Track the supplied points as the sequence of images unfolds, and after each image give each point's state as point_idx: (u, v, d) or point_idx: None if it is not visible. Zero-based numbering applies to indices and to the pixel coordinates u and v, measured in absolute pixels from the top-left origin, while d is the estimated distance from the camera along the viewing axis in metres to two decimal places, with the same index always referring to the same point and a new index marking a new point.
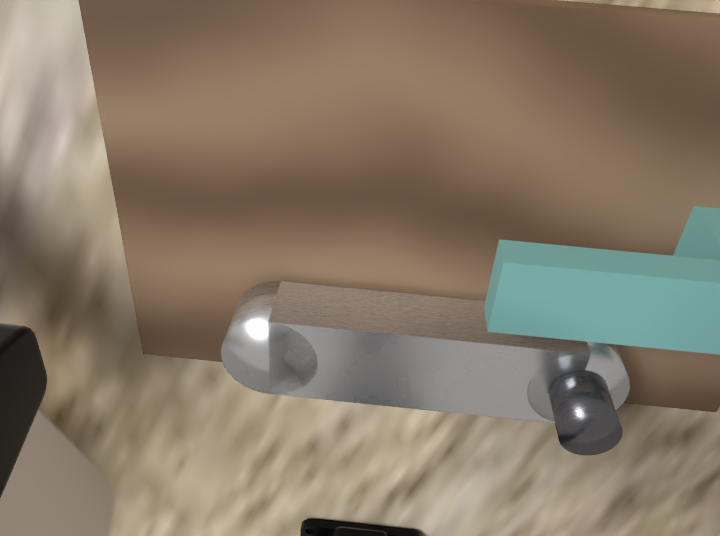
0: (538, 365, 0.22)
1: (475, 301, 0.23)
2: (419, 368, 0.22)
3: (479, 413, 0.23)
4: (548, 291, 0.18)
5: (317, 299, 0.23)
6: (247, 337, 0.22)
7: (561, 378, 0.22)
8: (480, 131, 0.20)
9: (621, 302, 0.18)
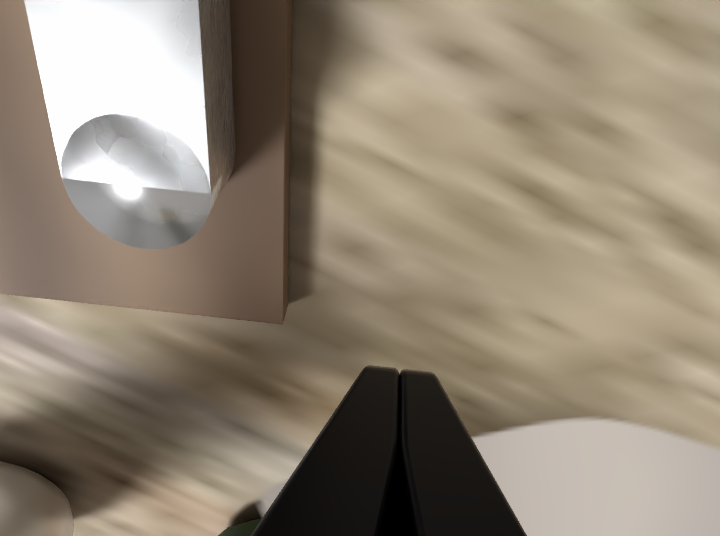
0: None
1: None
2: None
3: None
4: None
5: None
6: (101, 209, 0.15)
7: None
8: None
9: None
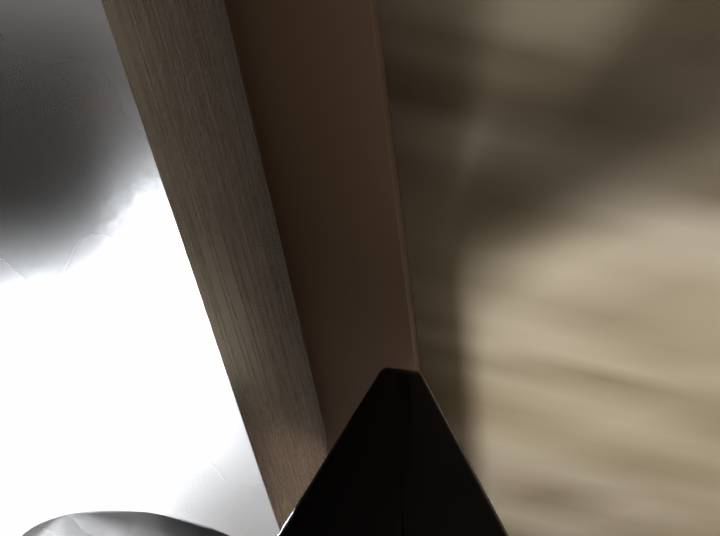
0: None
1: None
2: None
3: None
4: None
5: None
6: None
7: None
8: None
9: None
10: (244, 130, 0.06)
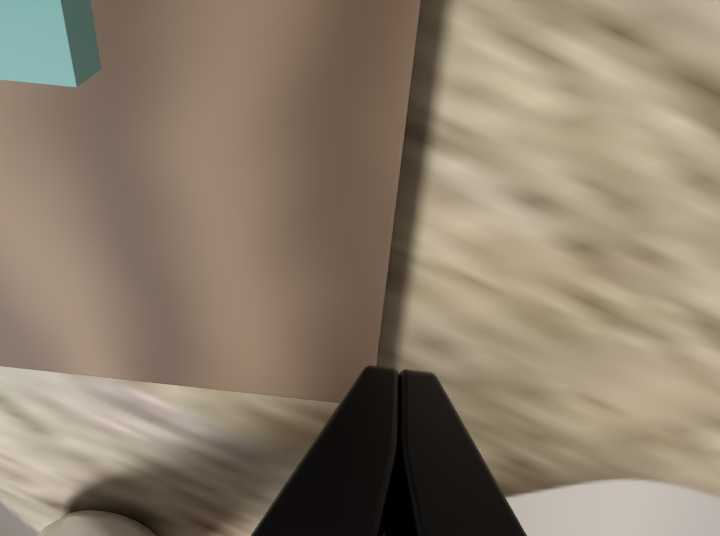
0: None
1: None
2: None
3: None
4: None
5: None
6: None
7: None
8: None
9: None
10: None
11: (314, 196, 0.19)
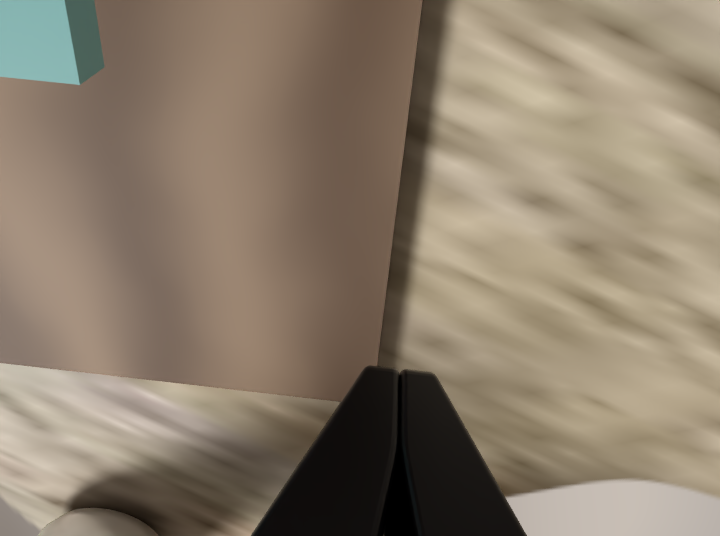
0: None
1: None
2: None
3: None
4: None
5: None
6: None
7: None
8: None
9: None
10: None
11: (316, 195, 0.19)
